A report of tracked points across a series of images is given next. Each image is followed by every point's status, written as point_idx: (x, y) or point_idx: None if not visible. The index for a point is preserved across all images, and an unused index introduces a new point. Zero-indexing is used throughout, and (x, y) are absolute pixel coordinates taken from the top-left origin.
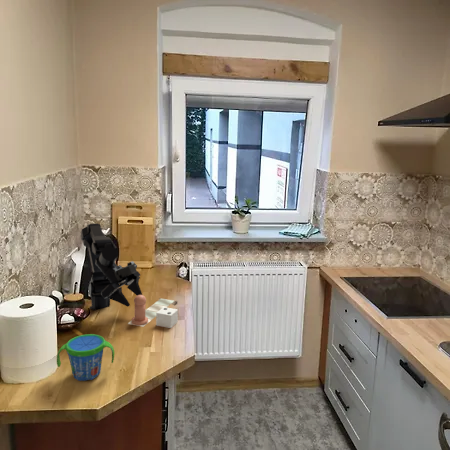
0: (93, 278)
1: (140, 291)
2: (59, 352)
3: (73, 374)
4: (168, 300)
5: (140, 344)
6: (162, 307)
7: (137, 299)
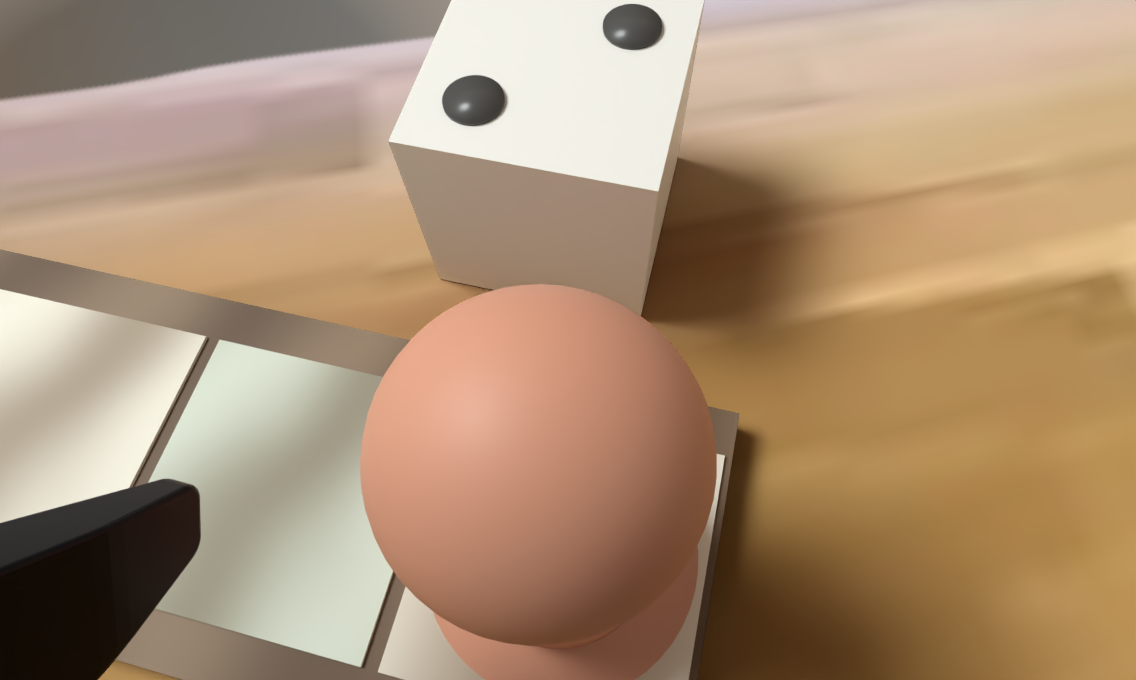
0: None
1: (13, 538)
2: None
3: None
4: None
5: (1128, 395)
6: (16, 349)
7: (700, 471)
